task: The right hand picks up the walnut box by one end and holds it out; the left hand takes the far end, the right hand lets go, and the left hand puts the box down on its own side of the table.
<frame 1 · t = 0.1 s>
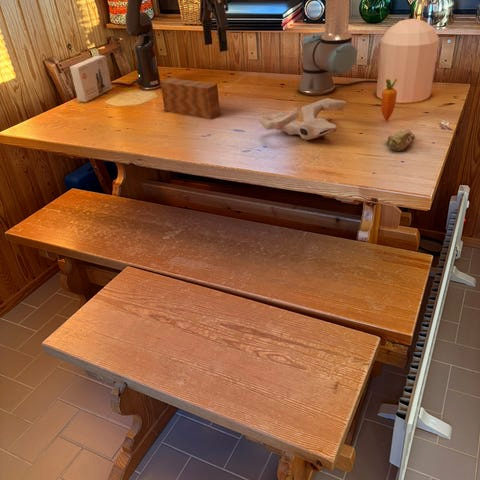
left hand: (216, 26, 186), 29 cm above the table, tool pointing down, fingers open, 8 cm apart
right hand: (216, 47, 160), 28 cm above the table, tool pointing down, fingers open, 13 cm apart
box: (191, 112, 191), on the table
carrot: (386, 121, 166), on the table
skincare box: (96, 95, 222), on the table
rock: (401, 146, 148), on the table
container: (402, 94, 187), on the table
beige branched piece: (310, 137, 160), on the table
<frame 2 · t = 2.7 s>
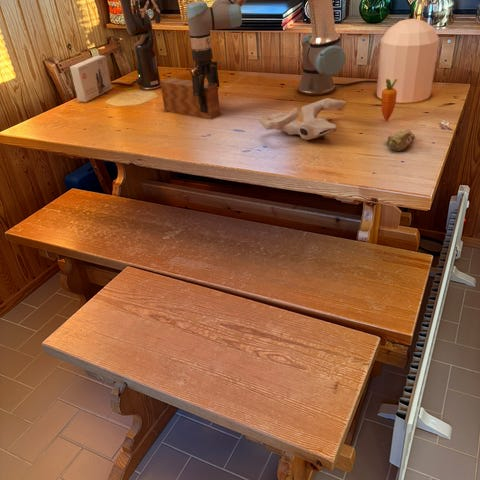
left hand: (150, 25, 192), 31 cm above the table, tool pointing down, fingers open, 8 cm apart
right hand: (209, 109, 185), 2 cm above the table, tool pointing down, fingers closed on box, 6 cm apart
box: (191, 112, 191), on the table, touching right hand
everything else where it was.
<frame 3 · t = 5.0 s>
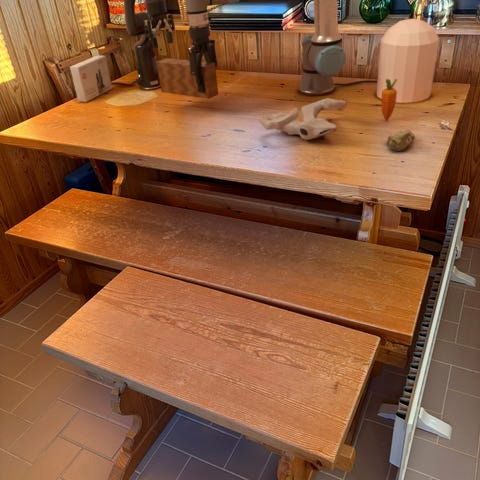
left hand: (163, 45, 184), 25 cm above the table, tool pointing down, fingers open, 8 cm apart
right hand: (206, 89, 180), 10 cm above the table, tool pointing down, fingers closed on box, 6 cm apart
box: (189, 93, 187), point 8 cm above the table, touching right hand
everything else where it was.
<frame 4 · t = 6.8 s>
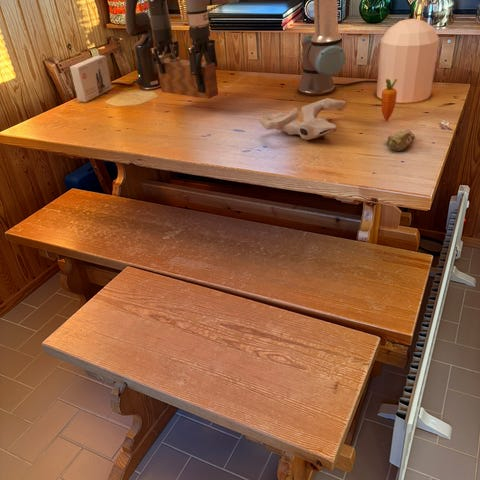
left hand: (168, 71, 187), 16 cm above the table, tool pointing down, fingers closed on box, 6 cm apart
right hand: (206, 89, 180), 10 cm above the table, tool pointing down, fingers closed on box, 6 cm apart
box: (189, 93, 187), point 8 cm above the table, touching left hand, right hand
everything else where it was.
when the right hand's fingers open (10 cm above the table, at t = 7.7 s): box stays where it is, held by the left hand.
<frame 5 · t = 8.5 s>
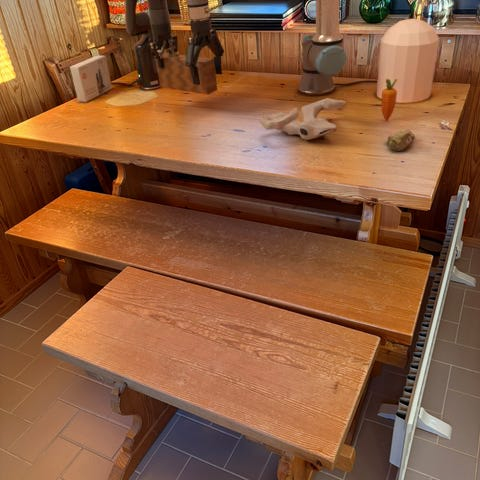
left hand: (167, 66, 186), 18 cm above the table, tool pointing down, fingers closed on box, 6 cm apart
right hand: (208, 79, 178), 14 cm above the table, tool pointing down, fingers open, 13 cm apart
box: (188, 88, 186), point 10 cm above the table, touching left hand
everything else where it was.
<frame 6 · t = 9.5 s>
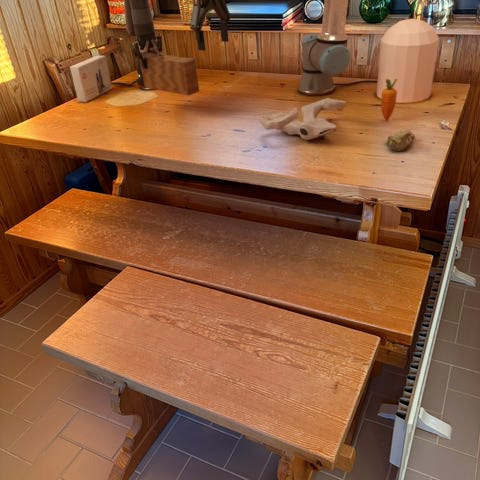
left hand: (151, 66, 185), 18 cm above the table, tool pointing down, fingers closed on box, 6 cm apart
right hand: (213, 45, 168), 27 cm above the table, tool pointing down, fingers open, 13 cm apart
box: (171, 89, 184), point 11 cm above the table, touching left hand
everything else where it was.
when the left hand's fingers open (9 cm above the table, at t = 12.6 s): box drops 2 cm, on the table.
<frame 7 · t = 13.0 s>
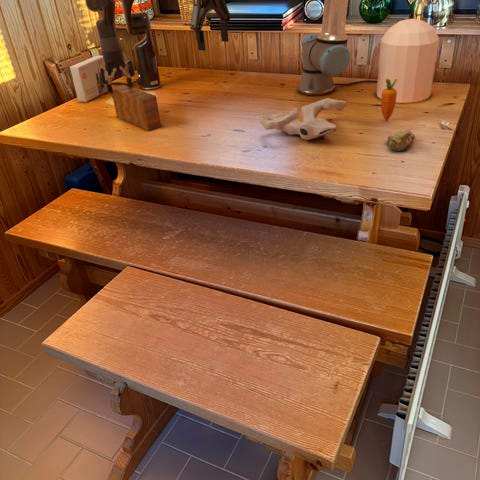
left hand: (120, 90, 187), 11 cm above the table, tool pointing down, fingers open, 8 cm apart
right hand: (213, 45, 168), 27 cm above the table, tool pointing down, fingers open, 13 cm apart
box: (138, 121, 187), on the table
everything else where it was.
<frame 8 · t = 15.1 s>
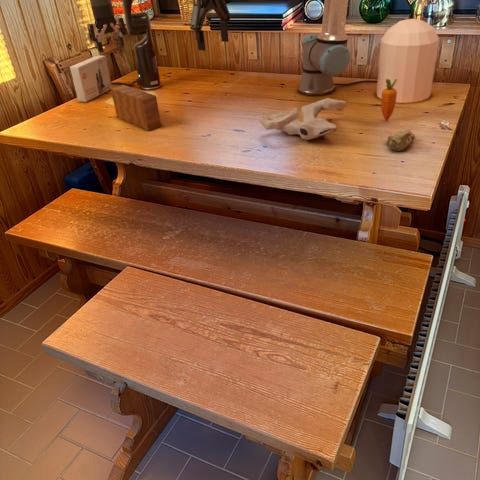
left hand: (111, 49, 178), 27 cm above the table, tool pointing down, fingers open, 8 cm apart
right hand: (213, 45, 168), 27 cm above the table, tool pointing down, fingers open, 13 cm apart
nothing on the table moved.
at the end: box inside the target area (9.2 cm from its centre), on the table; the left hand is holding nothing; the right hand is holding nothing; box at rest at the end (0.0 cm/s) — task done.
